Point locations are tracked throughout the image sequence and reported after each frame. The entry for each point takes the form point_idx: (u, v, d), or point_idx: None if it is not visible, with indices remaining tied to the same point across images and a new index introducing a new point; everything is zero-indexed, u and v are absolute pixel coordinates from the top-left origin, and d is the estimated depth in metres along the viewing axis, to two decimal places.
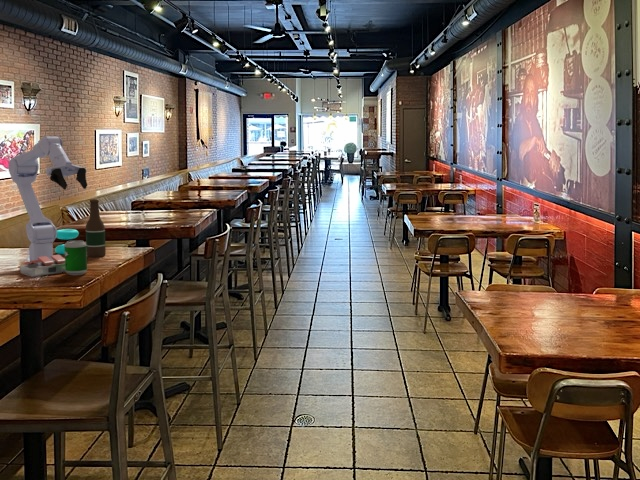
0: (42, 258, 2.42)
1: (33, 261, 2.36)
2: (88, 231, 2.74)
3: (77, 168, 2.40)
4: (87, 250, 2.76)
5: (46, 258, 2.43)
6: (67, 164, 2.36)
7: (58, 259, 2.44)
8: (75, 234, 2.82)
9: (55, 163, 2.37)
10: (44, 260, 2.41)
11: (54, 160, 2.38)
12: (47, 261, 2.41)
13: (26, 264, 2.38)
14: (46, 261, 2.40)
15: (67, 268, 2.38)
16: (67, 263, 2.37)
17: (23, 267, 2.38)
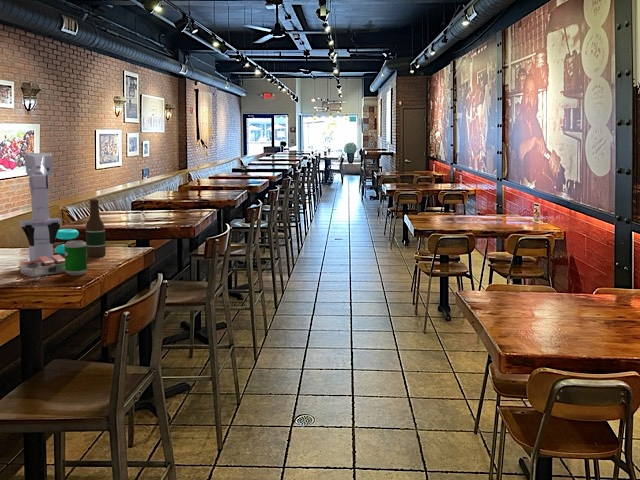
0: (42, 258, 2.42)
1: (33, 261, 2.36)
2: (88, 231, 2.74)
3: (52, 221, 2.41)
4: (87, 250, 2.76)
5: (46, 258, 2.43)
6: None
7: (58, 259, 2.44)
8: (75, 234, 2.82)
9: (33, 212, 2.36)
10: (44, 260, 2.41)
11: (33, 209, 2.35)
12: (47, 261, 2.41)
13: (26, 264, 2.38)
14: (46, 261, 2.40)
15: (67, 268, 2.38)
16: (67, 263, 2.37)
17: (23, 267, 2.38)
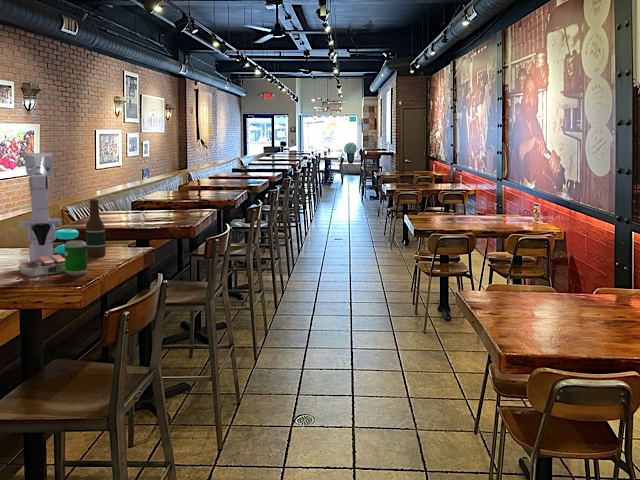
0: (42, 258, 2.42)
1: (33, 261, 2.36)
2: (88, 231, 2.74)
3: (52, 221, 2.41)
4: (87, 250, 2.76)
5: (46, 258, 2.43)
6: (43, 222, 2.36)
7: (58, 259, 2.44)
8: (75, 234, 2.82)
9: (33, 213, 2.36)
10: (44, 260, 2.41)
11: (33, 209, 2.35)
12: (47, 261, 2.41)
13: (26, 264, 2.38)
14: (46, 261, 2.40)
15: (67, 268, 2.38)
16: (67, 263, 2.37)
17: (23, 267, 2.38)
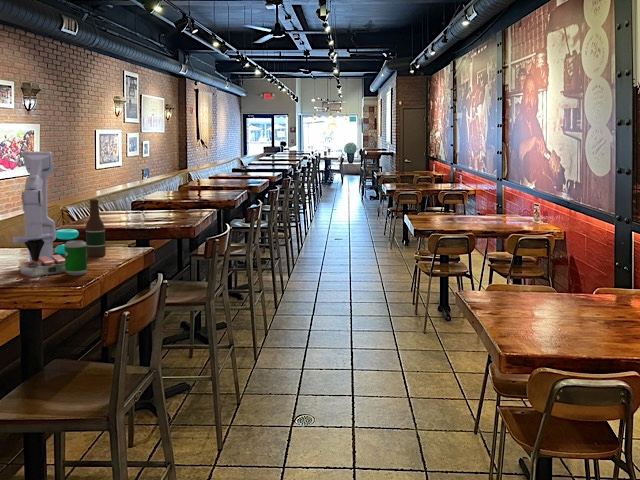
0: (42, 258, 2.42)
1: (33, 261, 2.36)
2: (88, 231, 2.74)
3: (46, 237, 2.38)
4: (87, 250, 2.76)
5: (46, 258, 2.43)
6: None
7: (58, 259, 2.44)
8: (75, 234, 2.82)
9: (26, 228, 2.33)
10: (44, 260, 2.41)
11: (26, 225, 2.32)
12: (47, 261, 2.41)
13: (26, 264, 2.38)
14: (46, 261, 2.40)
15: (67, 268, 2.38)
16: (67, 263, 2.37)
17: (23, 267, 2.38)
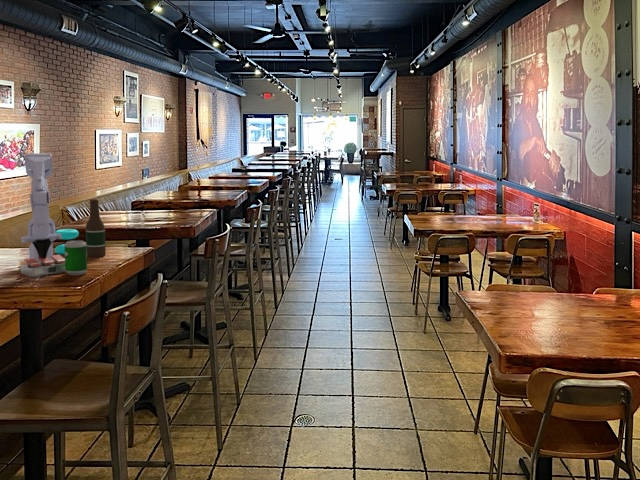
0: None
1: (33, 265, 2.36)
2: (88, 231, 2.74)
3: (53, 236, 2.45)
4: (87, 250, 2.76)
5: (46, 258, 2.43)
6: None
7: (58, 259, 2.44)
8: (75, 234, 2.82)
9: (34, 228, 2.40)
10: (44, 260, 2.41)
11: (34, 225, 2.39)
12: (47, 261, 2.41)
13: (26, 262, 2.38)
14: (46, 261, 2.40)
15: (67, 268, 2.38)
16: (67, 263, 2.37)
17: (23, 267, 2.38)
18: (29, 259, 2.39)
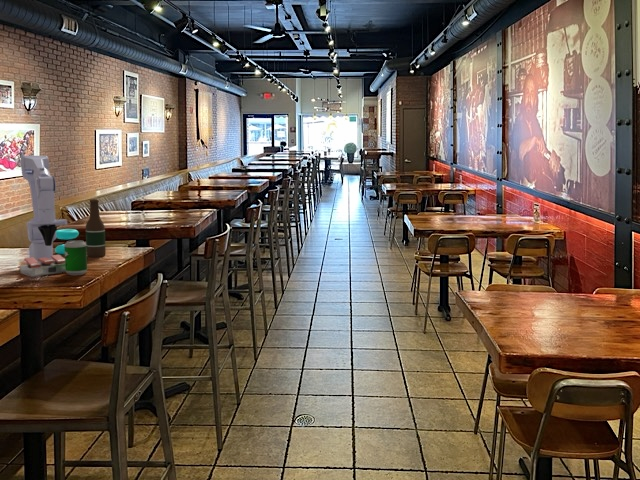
0: (42, 259, 2.42)
1: (33, 266, 2.36)
2: (88, 231, 2.74)
3: (58, 222, 2.45)
4: (87, 250, 2.76)
5: (46, 259, 2.43)
6: (49, 223, 2.40)
7: (58, 259, 2.44)
8: (75, 234, 2.82)
9: (39, 214, 2.40)
10: (44, 260, 2.41)
11: (40, 210, 2.40)
12: (47, 260, 2.41)
13: (26, 261, 2.38)
14: (46, 260, 2.40)
15: (67, 268, 2.38)
16: (67, 263, 2.37)
17: (23, 267, 2.38)
18: (29, 258, 2.39)
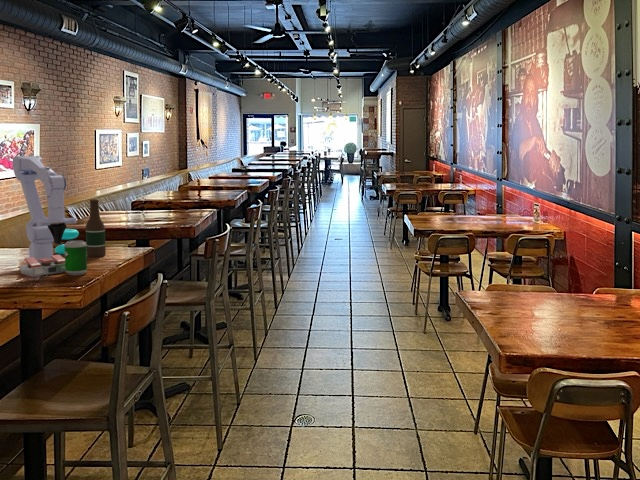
0: (42, 259, 2.42)
1: (33, 266, 2.36)
2: (88, 231, 2.74)
3: (68, 221, 2.47)
4: (87, 250, 2.76)
5: (46, 259, 2.43)
6: None
7: (58, 259, 2.44)
8: (75, 234, 2.82)
9: (49, 212, 2.42)
10: (44, 260, 2.41)
11: (49, 209, 2.42)
12: (47, 260, 2.41)
13: (26, 261, 2.38)
14: (46, 260, 2.40)
15: (67, 268, 2.38)
16: (67, 263, 2.37)
17: (23, 267, 2.38)
18: (29, 258, 2.39)
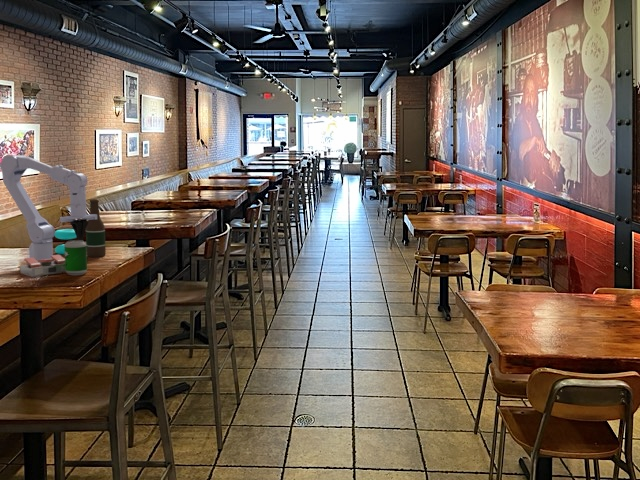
0: (42, 259, 2.42)
1: (33, 266, 2.36)
2: (88, 231, 2.74)
3: (89, 217, 2.56)
4: (87, 250, 2.76)
5: (46, 259, 2.43)
6: (81, 218, 2.51)
7: (58, 259, 2.44)
8: (75, 234, 2.82)
9: (72, 209, 2.51)
10: (44, 259, 2.41)
11: (72, 206, 2.51)
12: (47, 259, 2.41)
13: (26, 261, 2.38)
14: (46, 259, 2.40)
15: (67, 268, 2.38)
16: (67, 263, 2.37)
17: (23, 267, 2.38)
18: (29, 259, 2.39)
